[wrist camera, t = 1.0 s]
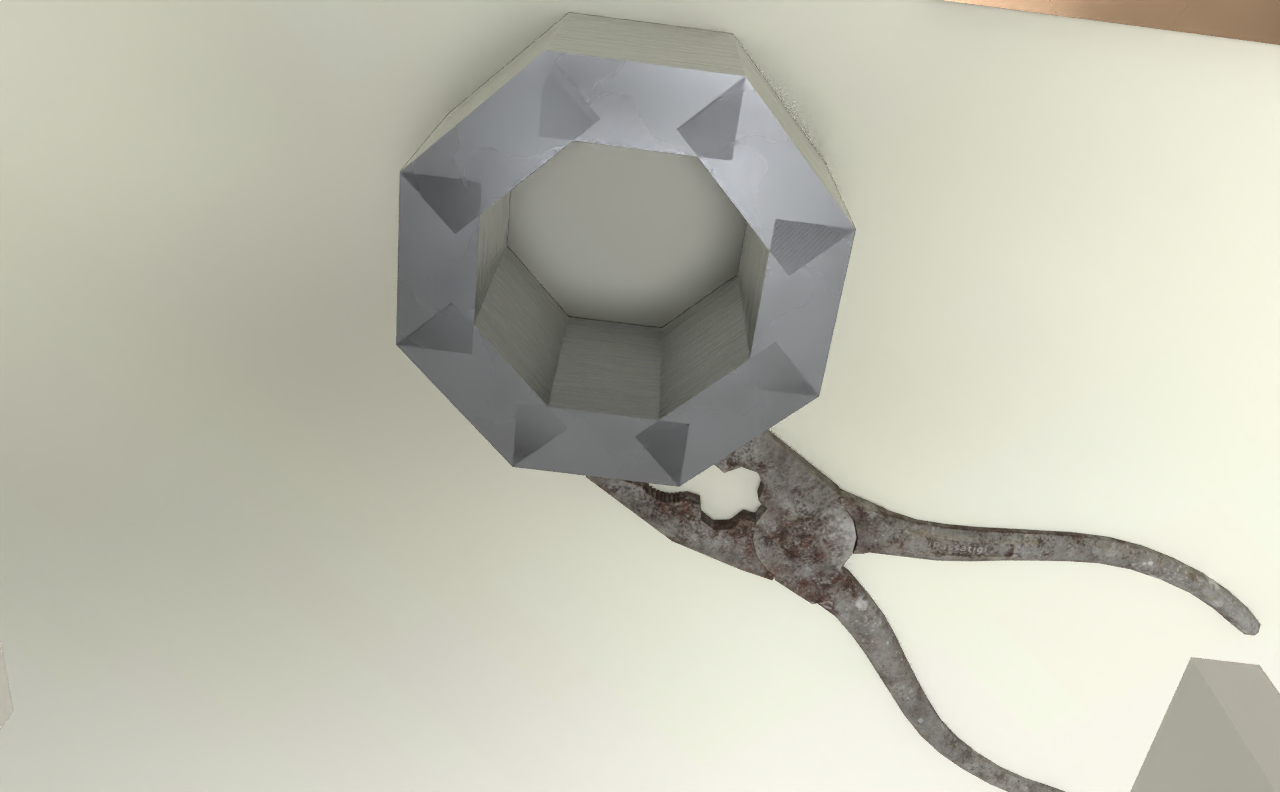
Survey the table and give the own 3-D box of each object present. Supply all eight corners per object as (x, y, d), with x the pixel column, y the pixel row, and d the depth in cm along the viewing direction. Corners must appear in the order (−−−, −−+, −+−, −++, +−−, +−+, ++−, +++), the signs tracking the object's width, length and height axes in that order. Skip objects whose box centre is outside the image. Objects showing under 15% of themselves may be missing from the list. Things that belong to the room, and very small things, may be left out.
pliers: (1111, 828, 35) (516, 656, 33) (1102, 808, 36) (519, 637, 33) (1290, 602, 31) (622, 382, 28) (1276, 583, 32) (623, 368, 29)
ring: (437, 357, 29) (394, 452, 24) (452, -4, 25) (402, 31, 20) (777, 398, 29) (796, 500, 24) (847, 48, 25) (885, 94, 20)
